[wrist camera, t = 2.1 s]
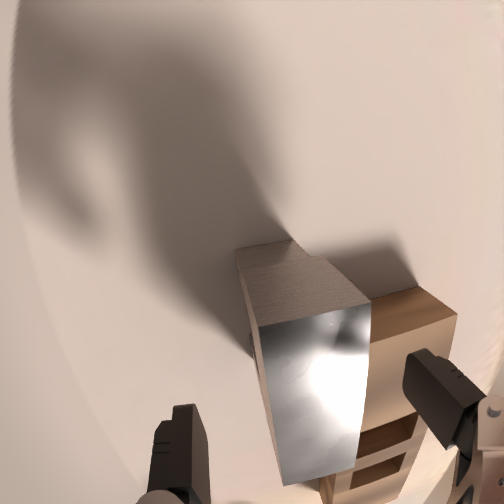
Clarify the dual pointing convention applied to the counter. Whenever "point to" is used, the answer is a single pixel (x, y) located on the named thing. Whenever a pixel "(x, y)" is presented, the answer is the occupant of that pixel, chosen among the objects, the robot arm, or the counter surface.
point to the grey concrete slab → (307, 356)
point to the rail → (391, 397)
